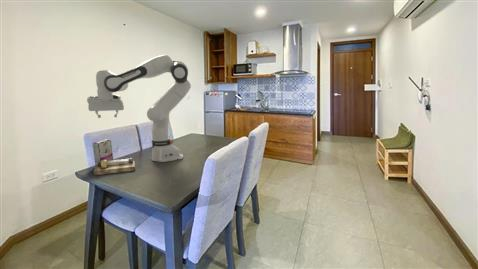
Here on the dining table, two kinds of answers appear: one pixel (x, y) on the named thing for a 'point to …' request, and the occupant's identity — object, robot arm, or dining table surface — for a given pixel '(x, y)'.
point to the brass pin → (103, 164)
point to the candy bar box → (102, 150)
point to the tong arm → (115, 163)
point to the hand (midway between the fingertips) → (107, 117)
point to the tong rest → (115, 168)
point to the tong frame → (123, 159)
